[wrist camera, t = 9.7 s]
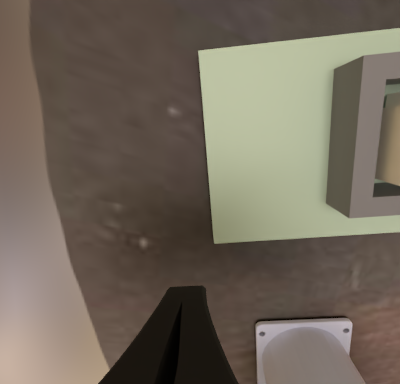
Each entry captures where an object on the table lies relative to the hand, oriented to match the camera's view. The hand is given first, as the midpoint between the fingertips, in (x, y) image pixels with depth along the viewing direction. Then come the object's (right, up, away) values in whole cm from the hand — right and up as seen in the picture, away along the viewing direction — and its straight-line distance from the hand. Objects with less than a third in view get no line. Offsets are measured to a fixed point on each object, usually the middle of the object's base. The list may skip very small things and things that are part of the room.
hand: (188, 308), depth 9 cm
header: (+9, +8, +7) cm, 14 cm away
